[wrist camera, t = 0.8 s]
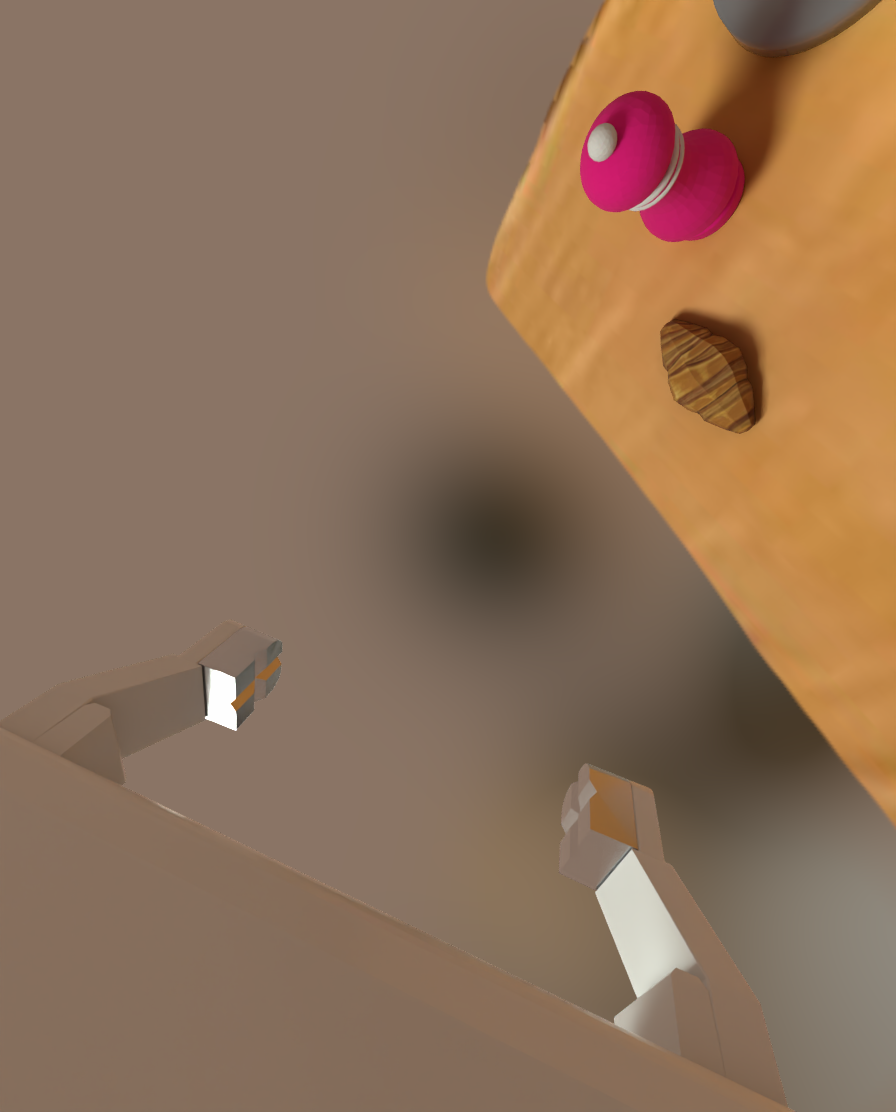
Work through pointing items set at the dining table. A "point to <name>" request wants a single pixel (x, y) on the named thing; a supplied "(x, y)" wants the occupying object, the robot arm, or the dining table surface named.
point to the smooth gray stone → (788, 22)
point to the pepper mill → (660, 169)
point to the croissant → (708, 375)
